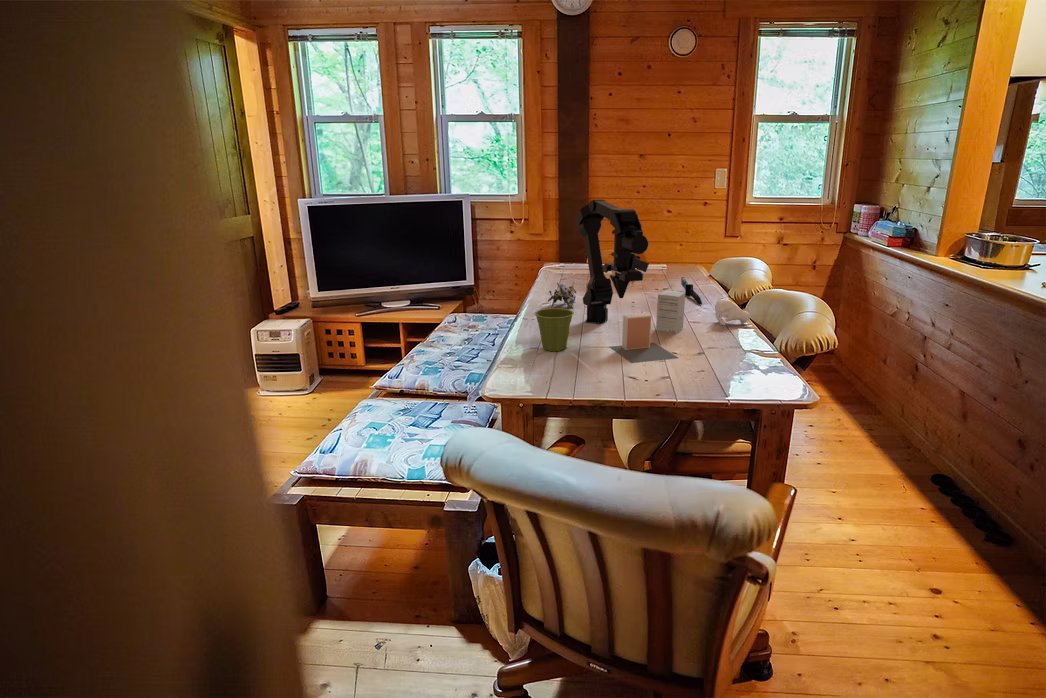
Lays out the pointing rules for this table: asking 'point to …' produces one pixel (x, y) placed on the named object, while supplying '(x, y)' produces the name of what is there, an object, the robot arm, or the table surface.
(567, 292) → the passion flower
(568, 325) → the plant pot
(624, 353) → the mat
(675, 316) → the supplement box
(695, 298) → the knife
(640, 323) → the white and orange box
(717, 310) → the white animal figurine
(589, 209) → the robot arm
